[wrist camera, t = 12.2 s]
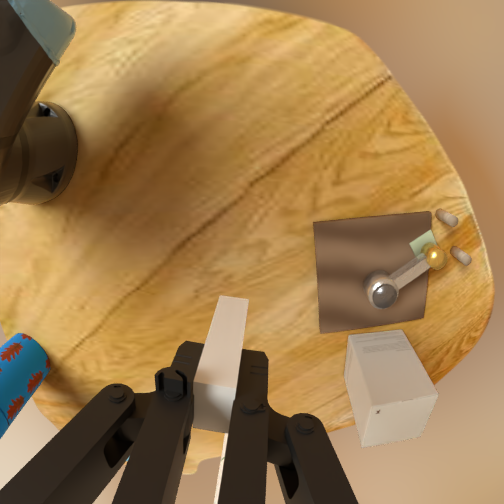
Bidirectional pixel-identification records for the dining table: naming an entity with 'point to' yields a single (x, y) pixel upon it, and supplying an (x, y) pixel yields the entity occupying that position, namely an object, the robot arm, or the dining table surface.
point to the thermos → (19, 375)
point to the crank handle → (401, 276)
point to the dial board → (372, 266)
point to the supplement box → (387, 388)
